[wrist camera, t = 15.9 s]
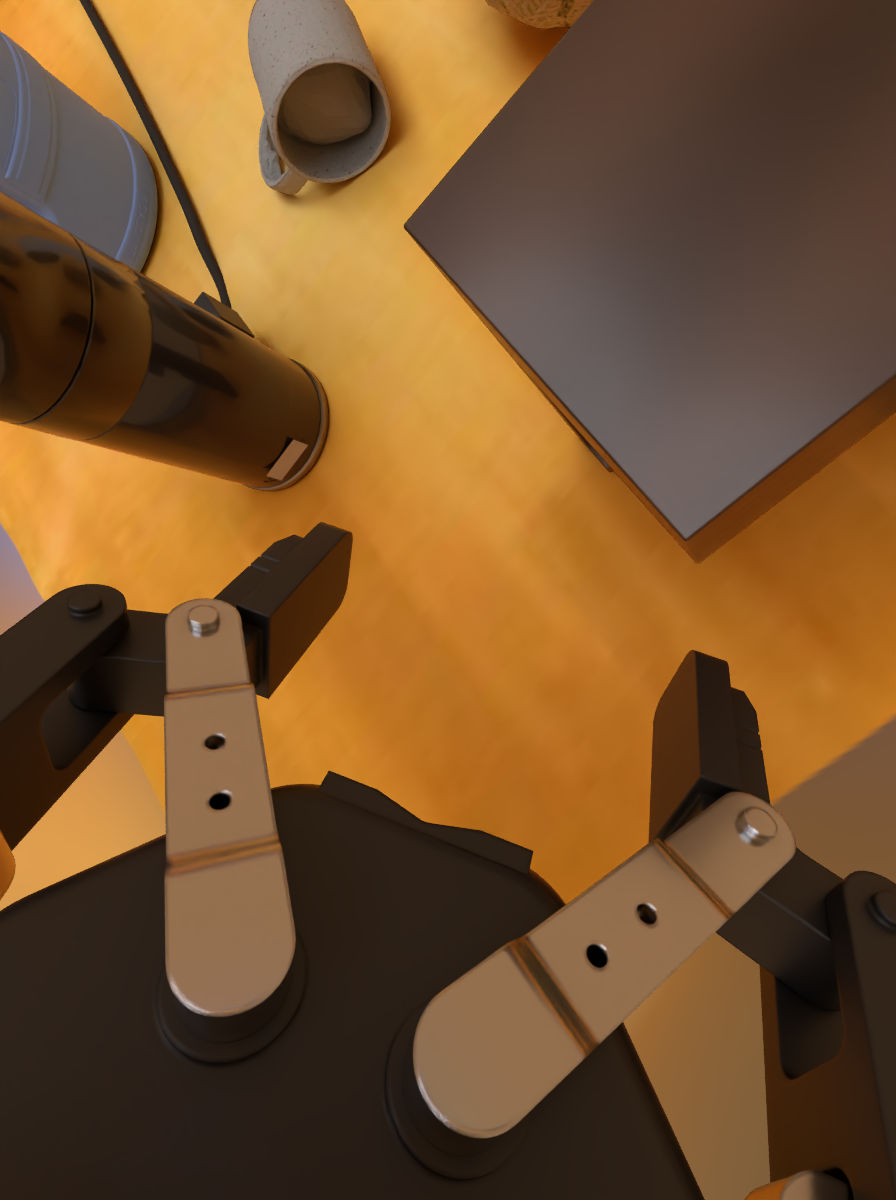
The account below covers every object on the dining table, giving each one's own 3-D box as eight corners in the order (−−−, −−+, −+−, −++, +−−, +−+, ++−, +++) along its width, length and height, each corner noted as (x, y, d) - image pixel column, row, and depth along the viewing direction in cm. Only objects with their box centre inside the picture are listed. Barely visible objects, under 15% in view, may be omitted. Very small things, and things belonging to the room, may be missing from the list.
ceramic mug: (372, 36, 41) (298, -81, 34) (414, 131, 40) (345, 30, 33) (260, 143, 45) (173, 59, 38) (293, 233, 44) (210, 163, 37)
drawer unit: (576, 435, 35) (401, 225, 16) (861, 175, 30) (1116, -623, 10) (707, 582, 32) (684, 543, 13) (1050, 324, 27) (1887, -406, 7)
